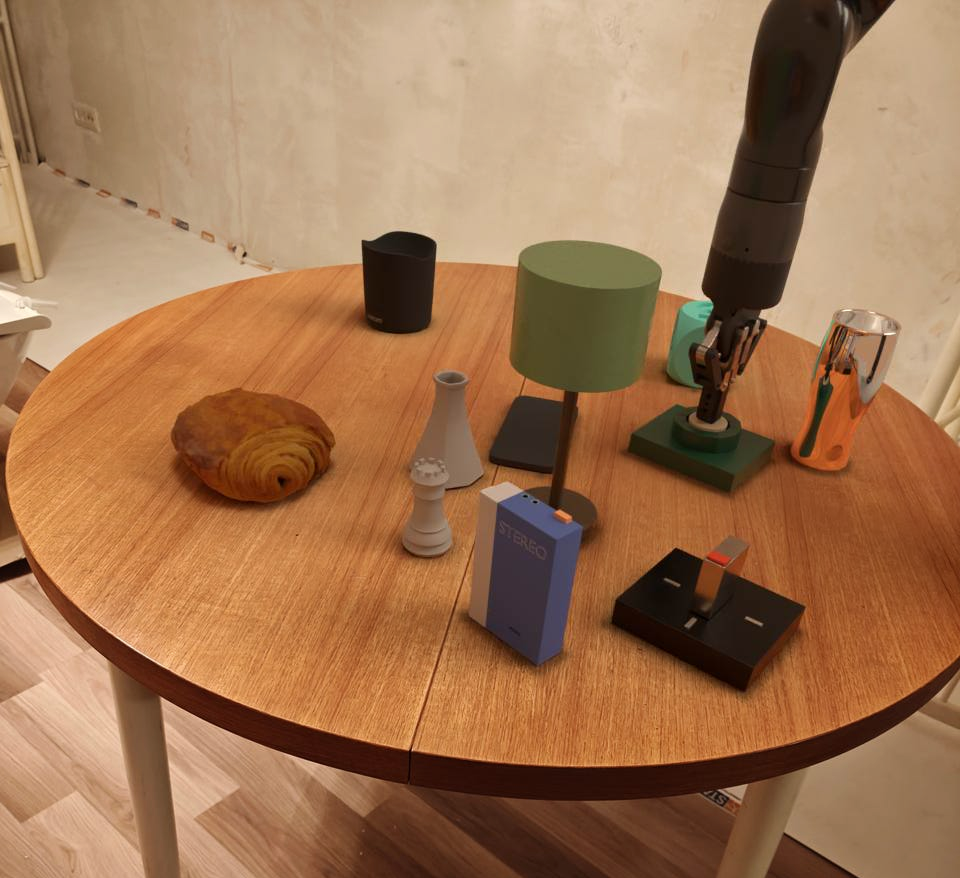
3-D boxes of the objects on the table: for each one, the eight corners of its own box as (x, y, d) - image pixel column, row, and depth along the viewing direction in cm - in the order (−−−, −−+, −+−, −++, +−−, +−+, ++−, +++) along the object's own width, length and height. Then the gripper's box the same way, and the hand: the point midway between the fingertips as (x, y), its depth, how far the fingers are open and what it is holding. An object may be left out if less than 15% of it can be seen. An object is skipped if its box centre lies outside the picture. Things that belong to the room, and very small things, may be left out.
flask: (395, 466, 88) (396, 371, 82) (451, 447, 92) (456, 354, 86) (439, 498, 84) (444, 401, 78) (497, 477, 88) (505, 382, 82)
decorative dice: (665, 384, 108) (680, 319, 103) (666, 359, 114) (680, 296, 109) (731, 394, 107) (749, 329, 102) (729, 367, 113) (745, 305, 108)
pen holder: (359, 308, 120) (358, 230, 113) (428, 308, 121) (431, 231, 115) (365, 335, 113) (364, 254, 106) (438, 335, 115) (441, 255, 108)
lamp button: (730, 435, 94) (734, 419, 92) (712, 448, 91) (717, 432, 90) (696, 422, 95) (700, 407, 94) (678, 434, 93) (682, 419, 92)
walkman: (561, 651, 69) (584, 521, 61) (537, 666, 67) (557, 535, 59) (492, 602, 73) (505, 474, 65) (467, 615, 71) (478, 486, 64)
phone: (486, 455, 90) (516, 393, 101) (485, 463, 90) (515, 400, 101) (557, 469, 89) (580, 404, 100) (556, 476, 89) (579, 411, 100)
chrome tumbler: (773, 452, 96) (817, 316, 87) (808, 435, 100) (853, 302, 90) (829, 480, 93) (881, 340, 83) (863, 461, 96) (917, 325, 87)
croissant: (217, 541, 80) (208, 470, 74) (157, 444, 88) (144, 374, 82) (359, 499, 87) (361, 430, 81) (291, 412, 94) (289, 344, 89)
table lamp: (632, 521, 84) (688, 266, 68) (568, 571, 77) (613, 300, 62) (538, 479, 89) (570, 231, 73) (470, 522, 82) (489, 259, 66)
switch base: (770, 459, 95) (781, 425, 93) (729, 493, 89) (739, 458, 86) (672, 421, 100) (680, 388, 98) (627, 451, 94) (634, 417, 92)
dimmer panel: (796, 630, 73) (807, 604, 71) (744, 692, 67) (754, 666, 65) (669, 570, 78) (676, 545, 76) (610, 623, 72) (615, 597, 70)
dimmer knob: (714, 585, 73) (730, 531, 69) (734, 594, 72) (751, 541, 68) (688, 610, 70) (704, 555, 66) (708, 620, 69) (725, 565, 66)
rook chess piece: (394, 552, 77) (394, 472, 72) (412, 526, 81) (414, 447, 75) (442, 564, 76) (446, 483, 71) (458, 537, 80) (463, 458, 75)
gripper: (760, 272, 75) (711, 454, 86) (819, 241, 83) (767, 411, 95) (682, 249, 78) (644, 428, 90) (746, 222, 86) (704, 388, 98)
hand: (707, 419), depth 92 cm, fingers closed
